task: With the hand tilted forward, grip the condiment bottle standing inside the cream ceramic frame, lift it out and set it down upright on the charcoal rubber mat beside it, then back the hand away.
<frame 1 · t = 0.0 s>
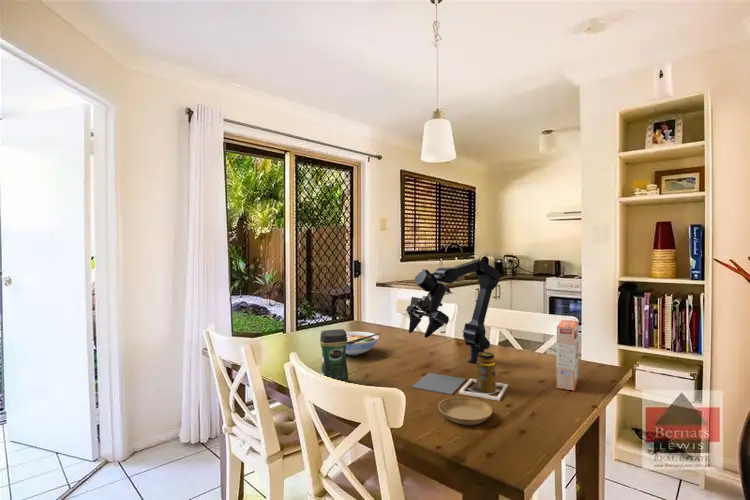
hand: (417, 335, 143), 15 cm above the table, tool tilted 35°, fingers open, 9 cm apart
rubber mat: (439, 383, 134), on the table
ceramic frame: (483, 390, 128), on the table
plant saucer: (465, 417, 109), on the table
coffee jar: (334, 383, 136), on the table
cracker box: (568, 384, 133), on the table
ramen bowl: (353, 353, 174), on the table
condiment: (483, 391, 128), resting in ceramic frame
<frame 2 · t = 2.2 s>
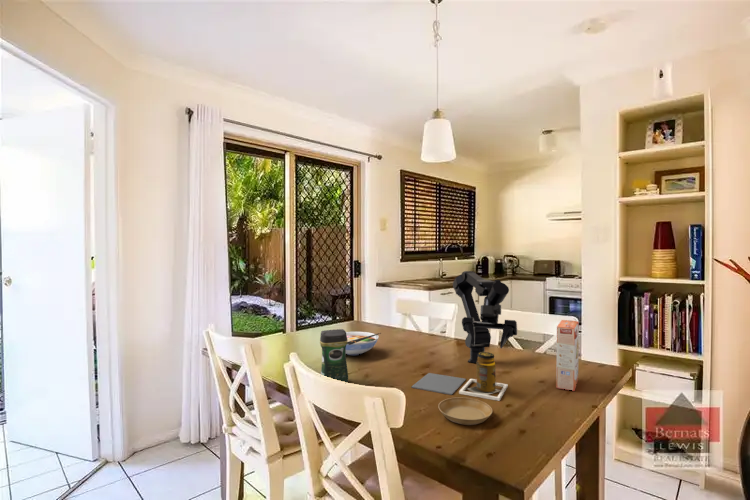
hand: (487, 346, 134), 13 cm above the table, tool tilted 45°, fingers open, 9 cm apart
nothing on the table moved.
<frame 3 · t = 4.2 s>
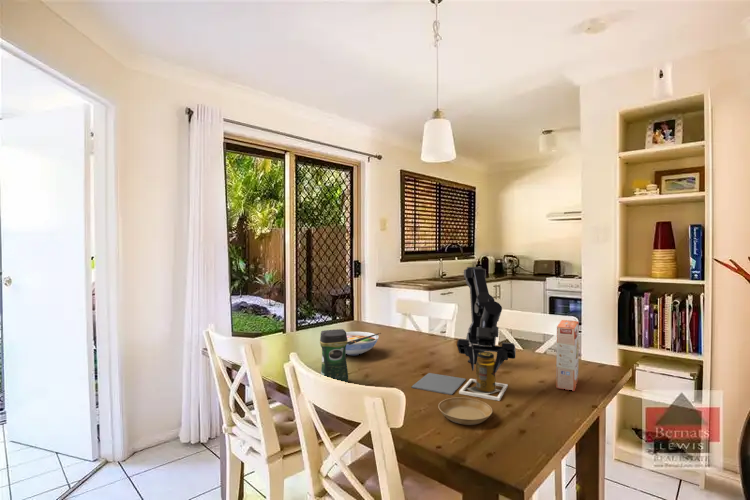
hand: (483, 371, 126), 7 cm above the table, tool tilted 45°, fingers open, 7 cm apart
condiment: (483, 390, 128), resting in ceramic frame, touching gripper
everything else where it was.
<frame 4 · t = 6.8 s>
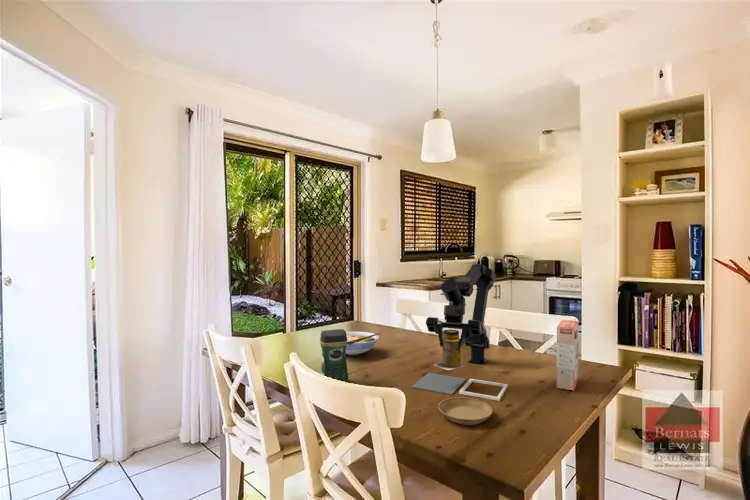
hand: (450, 347, 131), 13 cm above the table, tool tilted 45°, fingers closed on condiment, 6 cm apart
condiment: (449, 366, 133), point 6 cm above the table, touching gripper
everything else where it was.
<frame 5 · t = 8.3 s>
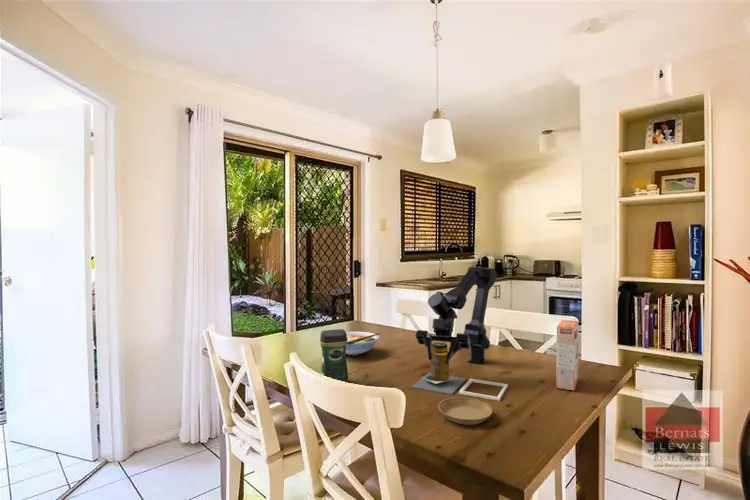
hand: (438, 360, 133), 8 cm above the table, tool tilted 45°, fingers closed on condiment, 6 cm apart
condiment: (438, 379, 135), point 1 cm above the table, touching gripper
everything else where it was.
when the fingers open (8 cm above the table, at t = 9.3 s): condiment stays where it is, resting on rubber mat.
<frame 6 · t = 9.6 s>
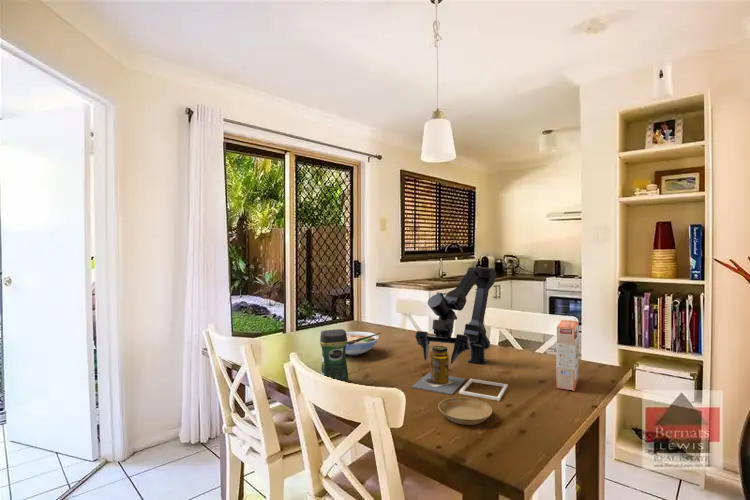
hand: (438, 361, 133), 8 cm above the table, tool tilted 45°, fingers open, 9 cm apart
condiment: (437, 382, 135), resting on rubber mat
everything else where it was.
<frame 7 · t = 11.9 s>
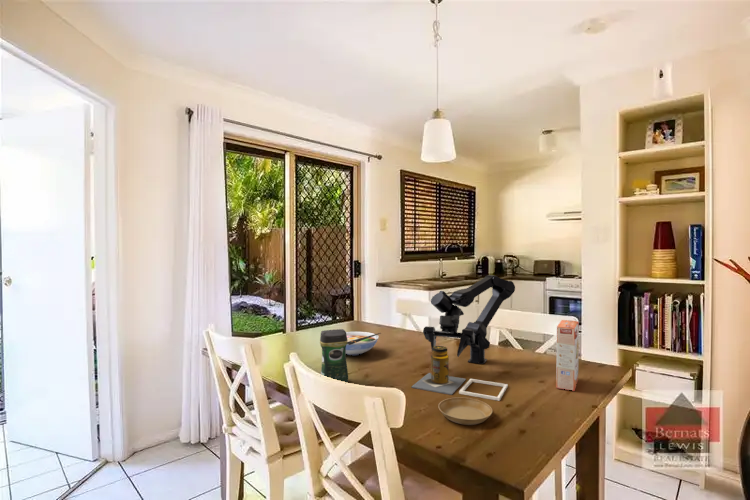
hand: (445, 354, 141), 8 cm above the table, tool tilted 45°, fingers open, 9 cm apart
nothing on the table moved.
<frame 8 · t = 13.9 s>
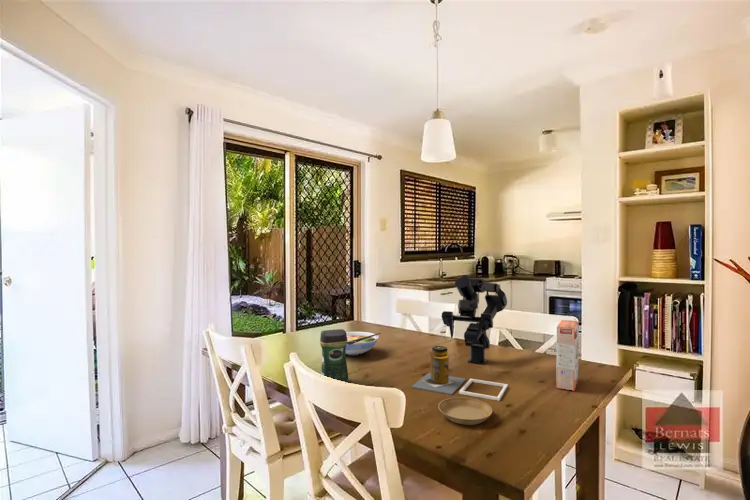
hand: (464, 338, 143), 14 cm above the table, tool tilted 45°, fingers open, 9 cm apart
nothing on the table moved.
at the end: condiment inside the target area (0.6 cm from its centre), resting on rubber mat; condiment tilted 0°; the gripper is holding nothing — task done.
